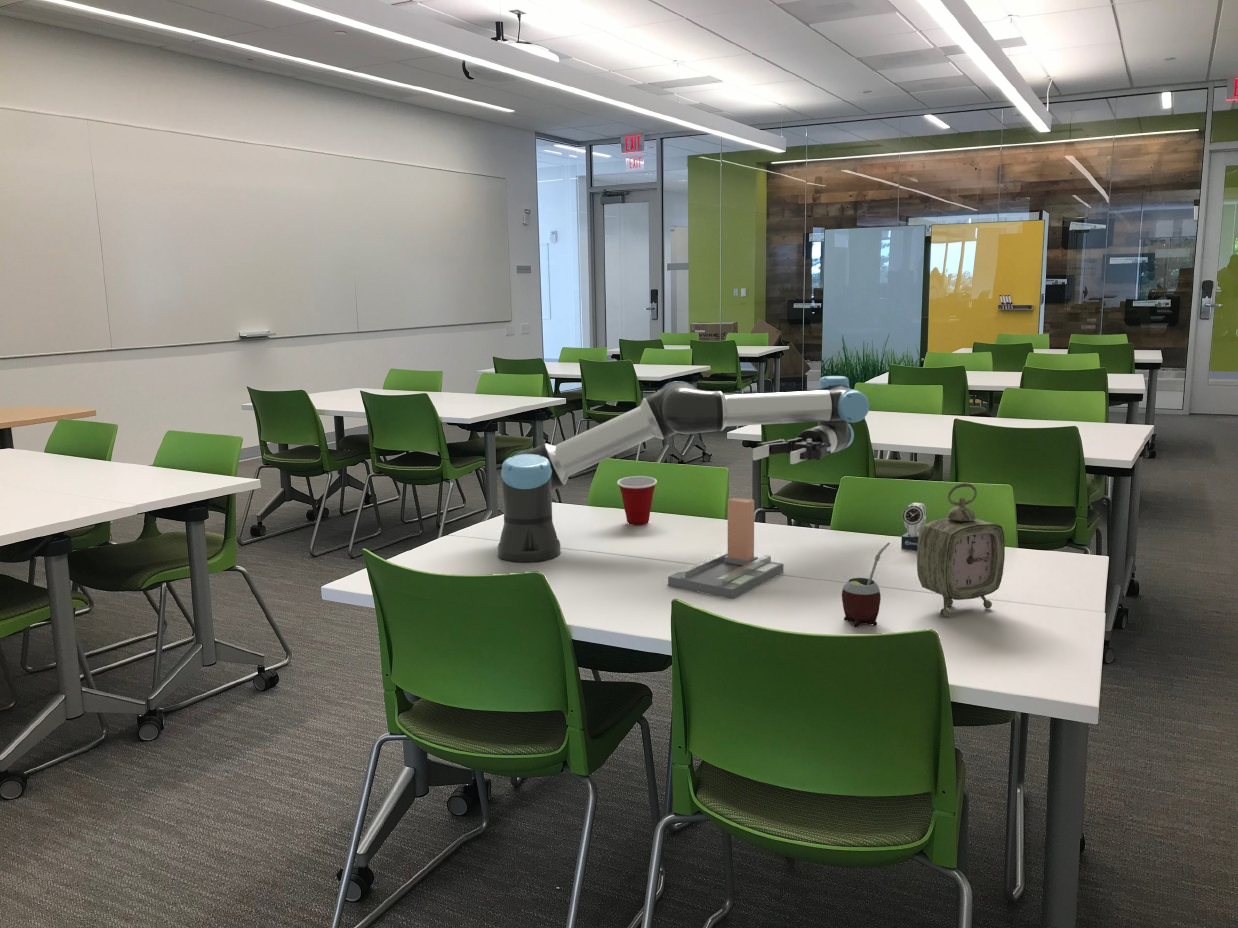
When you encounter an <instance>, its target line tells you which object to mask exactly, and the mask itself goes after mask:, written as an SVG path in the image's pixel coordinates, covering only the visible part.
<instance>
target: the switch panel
mask: <svg viewBox="0 0 1238 928" xmlns="http://www.w3.org/2000/svg"><path fill="white" fill-rule="evenodd" d="M727 555H728V550H726V551H724V552H721V553H718V554H716V555H713V556H711V557H708V558H707V559H704V560H703V561H699V562H698V563H696V564H694V565H691V566H688V567H686V568H684V569H682V570H680V571H677V572H675V573H673V574H671V575H669V576H667V586H669V587H674V588H679V589H683V590H689V591H692V590H693V591H694V592H697V591H699V592H698V593H702V592H703V594H707V593H708V595H712V596H718V597H721V596H722V597H723V598H726V599H732V600H733V599H735V598H738V597H740V596H742V595H743V594H745V593H747V592H748V591H750V590H752V589H755V588H756V587H758V586H760V585H762V584H765V583H766V582H768V581H771V579H774V578H775V577H777V576H779V575H781V574H784V568H785V567H784V566H785V565H784V563H782V562H775V561H772V556H771V555H768V554H765V555H763V556H761V557H758V559H757V560H755V561H752V562H750V563H748V564H746V565H744V566H743V565H737V564H732V563H726V562H724V557H725V556H727ZM693 591H692V592H693ZM722 597H721V598H722Z"/></svg>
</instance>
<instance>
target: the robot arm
mask: <svg viewBox="0 0 1238 928" xmlns="http://www.w3.org/2000/svg"><path fill="white" fill-rule="evenodd" d="M869 411H870V403H869V400H868V397H867V396H866V395H865V394H864V393H862V392H861V391H859V390H857V389H852V388H851V387H850V380H849V378H848V377H847V376H842V375H826V376H822V377H821V378H819V380H818V390H803V391H786V392H784V391H782V392H765V393H763V392H761V393H743V394H742V393H739V394H724V393H723V392H722V391H721V390H714V391H712V390H711V391H710V390H703V389H698V388H697V387H695V385H693V384H691V383H689V382H686V381H671V382H668V383H666V384H665V385H663V386H662V387H661V388H660V389H659V390H657V391H655V392H653V393H650V394H649V395H647V396H645V397H643V399H642V401H641V403H640V405H638V406H637V407H635V408H633V409H631V410H629V411H626V412H625V413H622V414H620V415H618V416H616V417H613V418H611V419H609V420H607V421H605V422H602V423H600V424H599V425H597V426H594V427H592V428H589V429H588V430H585V431H584V432H581V433H579V434H577V435H574V436H573V437H570V438H568V439H566V440H563V441H561V442H559V443H558V444H555V445H552V444H550V443H546V442H545V443H543V444H541V445H539V446H536V447H535V448H533V449H526V450H522V451H519V452H517V453H516V454H514V455H513V456H511V457H507V458H506V459H505V460H504V461H503V462H502V464H501V471H500V476H501V480H502V481H501V483H502V503H503V504H502V505H503V506H502V507H503V508H502V509H503V527H502V531H501V533H500V534H501V535H500V539H499V543H498V545H497V556H498V557H499V558H500V559H502V560H505V561H510V562H514V563H515V562H517V563H518V562H519V563H520V562H521V563H529V562H541V561H546V560H550V559H553V558H556V557H559V556H560V554H561V549H562V548H561V547H562V546H561V542H560V540H559V538H558V535H557V532H556V528H555V525H554V522H553V499H552V498H553V497H552V492H553V491H554V490H557V489H559V488H560V487H563V486H565V485H566V483H567V481H568V479H569V477H570V476H573V475H574V474H577V473H580V472H581V471H584V470H586V469H588V468H590V467H592V466H594V465H597V464H598V463H600V462H603V461H605V460H607V459H610V458H611V457H614V456H615V455H618V454H620V453H622V452H625V451H627V450H629V449H630V448H631V449H632V448H633V447H635V446H638V445H640V444H642V443H644V442H646V441H648V440H651V439H653V438H657V439H660V440H664V439H666V438H669V437H671V436H674V435H675V434H681V435H691V434H692V435H693V434H698V433H699V434H700V433H710V432H711V433H712V432H722V431H724V429H725V428H726V427H738V426H740V427H741V426H758V425H759V426H760V425H775V424H778V425H779V424H794V423H796V424H797V423H811V422H813V423H814V422H817V425H818V426H814V427H812V428H808V429H804V430H802V431H800V433H799V434H798V435H797V437H795V438H793V439H786V440H785V438H779V439H776V440H769V441H765V442H759V443H757V447H754V448H752V460H753V461H758V460H760V459H761V460H762V459H767V458H768V457H770V456H771V455H777V454H787V455H789V464H790V465H795V464H798V463H800V462H803V461H806V460H808V461H812V460H815V461H816V460H817V461H820V460H822V459H823V458H824V457H826V456H827V455H830V454H833V453H838V452H841V451H844V450H845V449H846V448H848V447H850V445H851V444H852V443H853V441H854V438H855V432H854V429H853V427H852V426H851V424H849V423H858V422H861V421H862V420H863V419H865V418H866V417H867V415H868V413H869Z"/></svg>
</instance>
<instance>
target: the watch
mask: <svg viewBox="0 0 1238 928" xmlns="http://www.w3.org/2000/svg"><path fill="white" fill-rule="evenodd" d="M926 510H927V509H926V505H925V504H924V503H921V502H912V503H910V504H908V507H906V508H905V509H904V510H903V512H902V520H903V522H904V527H905V528H906V531H907V532H905V533H904V534H903V535H901V544H900V546H901V547H900V549H901V550H908V551H914V552H915V551H916V552H917V548H918V538H919V532H920V529H921V527H922V526H923V525H925V524H926V523H927V522H926V521H927V515H926V514H927V513H926Z"/></svg>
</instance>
